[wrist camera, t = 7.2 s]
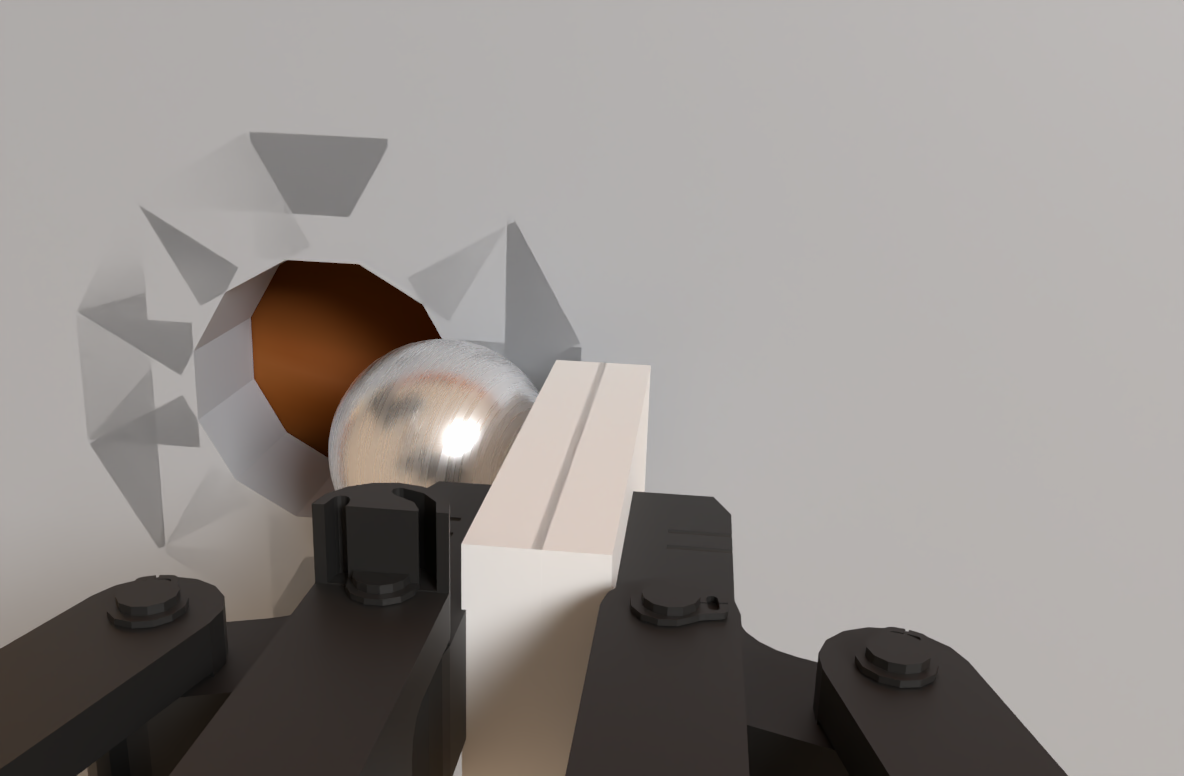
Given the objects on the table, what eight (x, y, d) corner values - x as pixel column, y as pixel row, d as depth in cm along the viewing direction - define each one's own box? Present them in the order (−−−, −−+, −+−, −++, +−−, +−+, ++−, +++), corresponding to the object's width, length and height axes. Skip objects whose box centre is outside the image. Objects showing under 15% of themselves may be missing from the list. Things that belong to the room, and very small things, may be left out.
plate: (72, 850, 25) (7, 934, 23) (-70, -387, 18) (-187, -453, 16) (1378, 982, 23) (1457, 1089, 21) (1794, -361, 16) (1987, -433, 14)
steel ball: (279, 563, 17) (470, 628, 15) (277, 343, 16) (480, 390, 14) (415, 494, 20) (586, 543, 18) (421, 305, 19) (602, 341, 17)
